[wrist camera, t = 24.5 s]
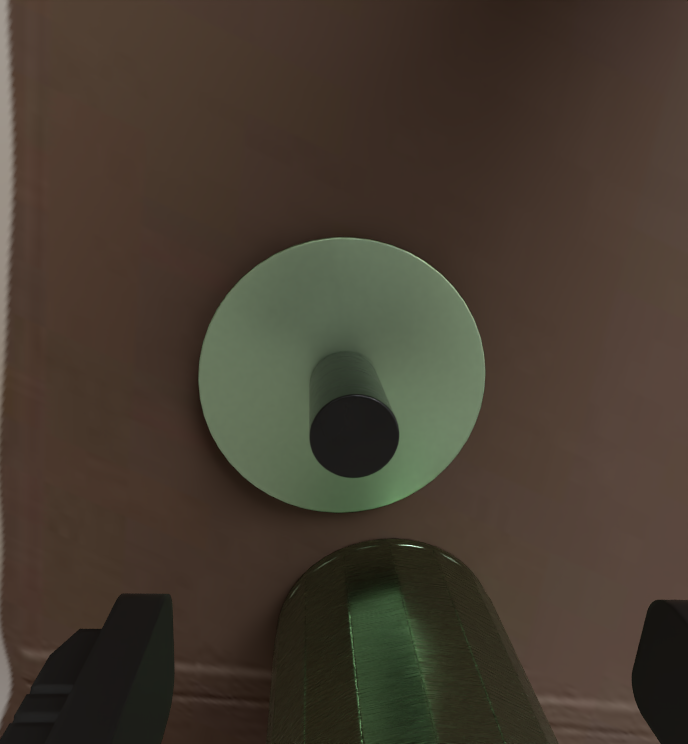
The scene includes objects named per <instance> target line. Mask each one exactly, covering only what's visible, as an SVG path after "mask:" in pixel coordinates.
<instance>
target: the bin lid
mask: <svg viewBox="0 0 688 744" xmlns="http://www.w3.org/2000/svg"><path fill="white" fill-rule="evenodd" d="M198 384H199V395H200V401H201V406H202V410H203V414H204V417H205V420H206V423H207V425H208V428H209V431H210V433H211V435H212V437H213V438H214V440H215V442H216V444H217V446H218V448H219V449H220V450H221V452H222V453H223V455H224V456H225V457H226V459H227V460H228V461H229V463H230V464H231V465H232V466H233V467H234V468H235V469H236V470H237V471H238V472H239V473H240V474H241V475H242V476H243V477H244V478H245V479H247V480H248V481H249V482H250V483H252V484H253V485H254V486H255V487H257V488H259V489H260V490H262V491H263V492H265V493H267V494H268V495H270V496H272V497H274V498H276V499H279V500H281V501H283V502H285V503H288V504H291V505H294V506H297V507H300V508H304V509H309V510H314V511H319V512H333V513H344V512H358V511H364V510H370V509H375V508H378V507H382V506H385V505H389V504H391V503H393V502H396V501H398V500H401V499H403V498H405V497H407V496H409V495H411V494H412V493H414V492H416V491H418V490H420V489H421V488H422V487H424V486H425V485H427V484H428V483H429V482H431V481H432V480H434V479H435V478H436V477H437V476H438V475H439V474H440V473H441V472H442V471H443V470H444V469H445V468H447V466H448V465H449V464H450V463H451V462H452V461H453V459H454V458H455V457H456V456H457V455H458V453H459V452H460V450H461V449H462V447H463V446H464V444H465V443H466V441H467V440H468V438H469V436H470V433H471V431H472V429H473V427H474V425H475V423H476V420H477V417H478V414H479V411H480V408H481V404H482V399H483V394H484V388H485V358H484V351H483V346H482V341H481V336H480V334H479V331H478V328H477V325H476V323H475V320H474V318H473V316H472V314H471V312H470V310H469V308H468V306H467V304H466V303H465V301H464V300H463V298H462V297H461V296H460V294H459V293H458V292H457V290H456V289H455V287H454V286H453V285H452V284H451V283H450V282H449V281H448V280H447V279H446V278H445V277H444V276H443V275H442V274H441V273H440V272H438V271H437V270H436V269H435V268H433V267H432V266H431V265H430V264H428V263H427V262H426V261H424V260H422V259H420V258H419V257H417V256H415V255H414V254H412V253H410V252H408V251H405V250H403V249H401V248H398V247H396V246H393V245H391V244H388V243H384V242H380V241H376V240H372V239H366V238H357V237H329V238H322V239H316V240H310V241H307V242H304V243H300V244H297V245H293V246H291V247H289V248H286V249H284V250H282V251H280V252H277V253H275V254H273V255H272V256H270V257H269V258H267V259H265V260H264V261H262V262H261V263H259V264H258V265H256V266H255V267H254V268H253V269H251V270H250V271H249V272H248V273H247V274H245V275H244V276H243V277H242V278H241V279H240V280H239V281H238V282H237V283H236V284H235V286H234V287H233V288H232V289H231V290H230V291H229V292H228V293H227V295H226V296H225V298H224V299H223V301H222V302H221V304H220V305H219V306H218V308H217V310H216V312H215V314H214V316H213V318H212V320H211V322H210V324H209V326H208V329H207V332H206V335H205V338H204V340H203V343H202V349H201V354H200V359H199V373H198Z"/></svg>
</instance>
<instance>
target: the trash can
mask: <svg viewBox="0 0 688 744" xmlns="http://www.w3.org/2000/svg"><path fill="white" fill-rule="evenodd" d="M266 744H558V741H557V739H556V737H555V735H554V733H553V731H552V729H551V727H550V724H549V722H548V720H547V718H546V716H545V714H544V712H543V710H542V707H541V705H540V703H539V701H538V699H537V697H536V695H535V693H534V691H533V688H532V686H531V684H530V682H529V680H528V678H527V676H526V674H525V671H524V669H523V667H522V665H521V663H520V661H519V659H518V657H517V654H516V652H515V650H514V648H513V646H512V644H511V642H510V640H509V637H508V635H507V633H506V631H505V629H504V627H503V625H502V623H501V620H500V618H499V616H498V614H497V612H496V610H495V608H494V606H493V604H492V601H491V599H490V598H489V597H488V595H487V594H486V592H485V591H484V589H483V587H482V585H481V584H480V582H479V580H478V579H477V577H476V576H475V575H474V574H473V573H472V571H471V570H470V569H469V568H468V567H467V566H466V565H464V564H463V563H462V562H461V561H460V560H458V559H457V558H455V557H454V556H452V555H451V554H449V553H448V552H445V551H443V550H441V549H439V548H437V547H435V546H432V545H429V544H426V543H422V542H417V541H412V540H405V539H378V540H371V541H365V542H361V543H358V544H354V545H350V546H348V547H345V548H343V549H340V550H338V551H336V552H334V553H332V554H330V555H329V556H327V557H325V558H323V559H322V560H321V561H319V562H318V563H316V564H315V565H313V566H312V567H311V568H310V569H309V570H308V571H307V572H306V573H305V574H304V575H302V577H301V578H300V579H299V580H298V581H297V583H296V584H295V585H294V586H293V588H292V589H291V591H290V593H289V594H288V596H287V597H286V600H285V602H284V604H283V606H282V609H281V612H280V616H279V620H278V627H277V634H276V639H275V644H274V654H273V667H272V679H271V691H270V703H269V716H268V728H267V740H266Z"/></svg>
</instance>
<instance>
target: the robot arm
mask: <svg viewBox="0 0 688 744" xmlns="http://www.w3.org/2000/svg"><path fill="white" fill-rule="evenodd" d="M173 687H174V641H173V610H172V599H171V596H170V594H121V595H120V596H119V597H118V598H117V600H116V602H115V604H114V606H113V608H112V610H111V612H110V614H109V616H108V618H107V620H106V622H105V624H104V626H103V628H102V629H79V630H78V631H77V632H76V633H75V634H73V635H72V636H71V637H70V638H69V639H68V640H67V641H66V642H64V643H63V644H62V645H61V646H60V647H59V648H58V649H57V650H55V651H54V652H53V653H52V654H51V655H50V656H49V658H48V659H47V661H46V663H45V665H44V666H43V668H42V670H41V671H40V673H39V675H38V676H37V678H36V680H35V682H34V683H33V685H32V687H31V691H30V694H27V695H26V697H25V698H24V700H23V702H22V704H21V705H20V707H19V709H18V710H17V712H16V714H15V715H14V721H13V723H10V724H9V726H8V727H7V729H6V731H5V732H4V734H3V736H2V737H1V739H0V744H161V742H162V738H163V734H164V731H165V727H166V724H167V720H168V716H169V712H170V708H171V702H172V696H173ZM632 688H633V693H634V697H635V701H636V703H637V706H638V708H639V710H640V712H641V714H642V716H643V718H644V719H645V721H646V722H647V724H648V725H649V727H650V728H651V730H652V731H653V733H654V734H655V736H656V737H657V739H658V740H659V742H660V743H661V744H688V600H655V601H654V602H652V603H651V604H650V606H649V608H648V611H647V614H646V618H645V622H644V626H643V631H642V635H641V639H640V643H639V647H638V651H637V655H636V659H635V663H634V667H633V671H632Z"/></svg>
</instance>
